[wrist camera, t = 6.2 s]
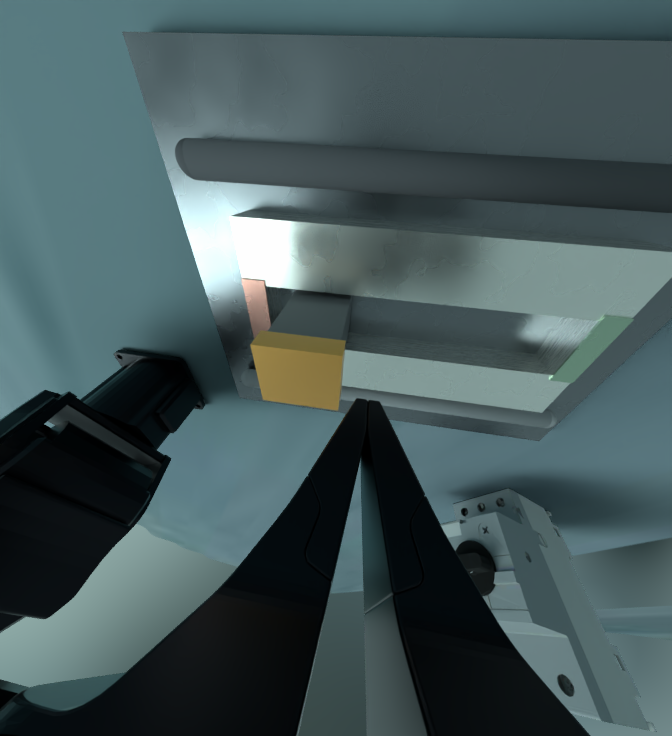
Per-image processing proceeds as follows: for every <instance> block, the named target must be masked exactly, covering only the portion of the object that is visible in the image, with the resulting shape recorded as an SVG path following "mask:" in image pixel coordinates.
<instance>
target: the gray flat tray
mask: <svg viewBox="0 0 672 736" xmlns="http://www.w3.org/2000/svg"><path fill="white" fill-rule="evenodd" d="M175 157H176V161H177V163H178V165H179V167H180V168H181V170H182V171H183V172H184V173H185V174H186V175H187V176H189V177H190V178H192V179H194V180H199V181H214V182H228V183H243V184H257V185H271V186H286V187H300V188H315V189H329V190H343V191H358V192H372V193H387V194H401V195H415V196H430V197H444V198H459V199H473V200H487V201H502V202H516V203H531V204H545V205H559V206H574V207H588V208H603V209H617V210H632V211H646V212H660V213H672V164H659V163H641V162H622V161H604V160H586V159H567V158H549V157H531V156H512V155H494V154H476V153H457V152H439V151H421V150H402V149H384V148H366V147H347V146H329V145H311V144H292V143H274V142H256V141H237V140H219V139H201V138H183V139H181V140H180V141H179V142H178V143H177V145H176V147H175ZM241 381H242V383H243V384H244V385H245V386H248V387H254V388H260V385H259V380H258V376H257V372H256V370H254V369H248V370H245V371H244V372H243V373H242V375H241ZM356 398H362V399H367V400H376V401H379V402H380V403H381V404H382V405H383V406H390V407H397V408H404V409H412V410H419V411H426V412H433V413H440V414H447V415H454V416H462V417H469V418H476V419H483V420H490V421H497V422H504V423H511V424H519V425H526V426H533V427H540V428H550V427H553V426H554V425H555V424H556V422H557V417H556V415H555V413H554V412H552V411H551V410H549V409H545V410H544V411H543V412H542V413H540V412H533V411H525V410H518V409H511V408H503V407H496V406H488V405H481V404H474V403H466V402H459V401H452V400H444V399H437V398H429V397H422V396H415V395H407V394H400V393H392V392H385V391H378V390H370V389H363V388H355V387H348V386H342V389H341V397H340V400H347V401H355V399H356Z"/></svg>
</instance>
